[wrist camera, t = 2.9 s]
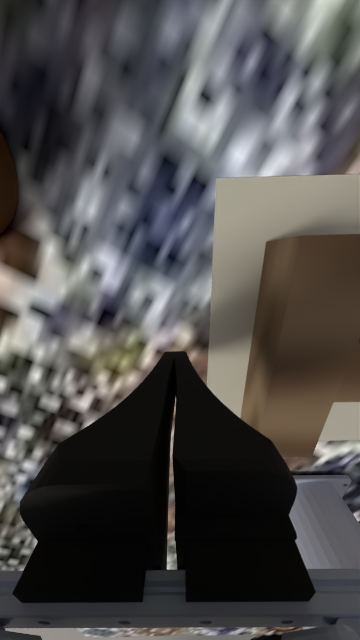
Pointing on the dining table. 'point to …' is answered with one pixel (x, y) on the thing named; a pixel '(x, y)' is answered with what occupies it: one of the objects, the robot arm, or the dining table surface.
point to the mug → (7, 185)
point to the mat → (247, 261)
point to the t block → (304, 339)
